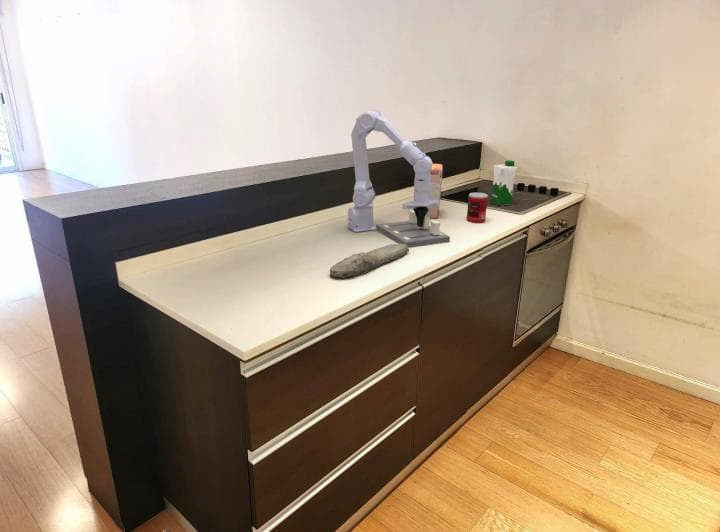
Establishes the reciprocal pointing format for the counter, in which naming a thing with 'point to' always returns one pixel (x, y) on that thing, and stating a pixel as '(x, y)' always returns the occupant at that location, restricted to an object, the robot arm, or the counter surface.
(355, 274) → the elongated rock
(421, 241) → the breaker panel
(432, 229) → the block
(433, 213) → the cracker box
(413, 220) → the block
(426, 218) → the block
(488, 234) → the counter surface
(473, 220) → the canned food
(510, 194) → the milk carton
